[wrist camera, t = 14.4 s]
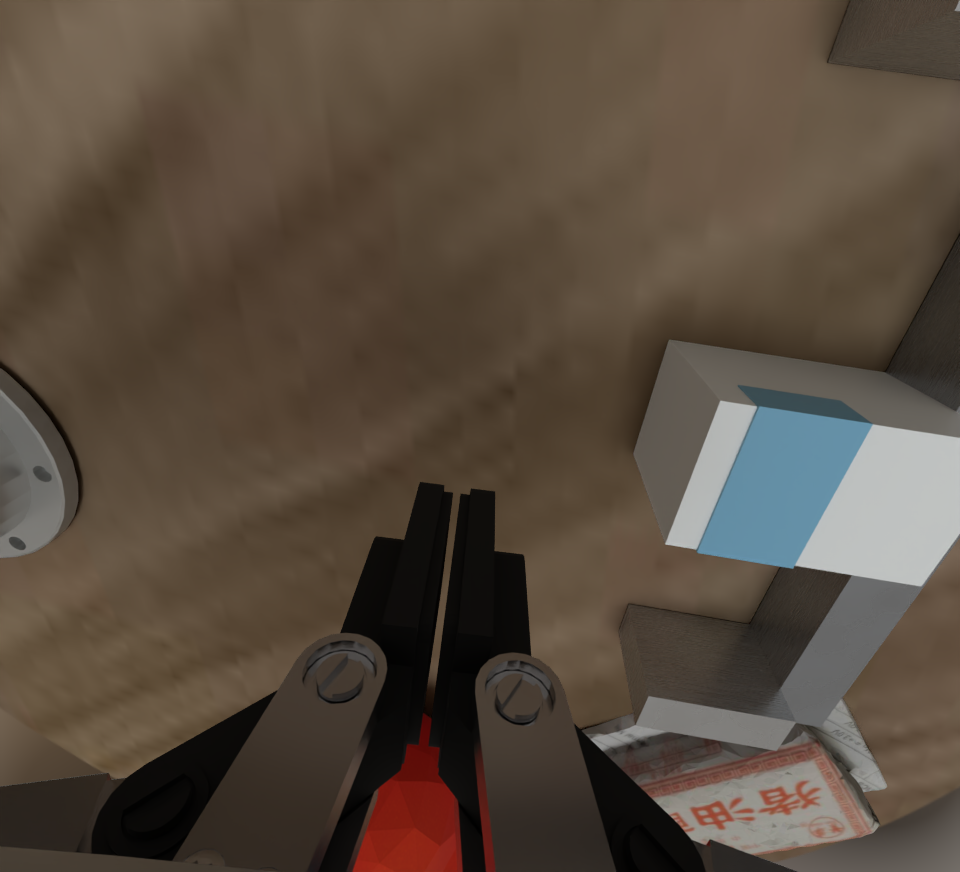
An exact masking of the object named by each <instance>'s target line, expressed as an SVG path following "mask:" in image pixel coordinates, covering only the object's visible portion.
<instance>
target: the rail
mask: <svg viewBox="0 0 960 872" xmlns="http://www.w3.org/2000/svg"><path fill="white" fill-rule="evenodd" d="M828 63H833V64H841V65H848V66H856V67H863V68H871V69H878V70H886V71H894V72H901V73H909V74H916V75H924V76H931V77H939V78H946V79H954V80H960V0H850V3H849V5H848V8H847V11H846V14H845V16H844V19H843V22H842V24H841V27H840V30H839V33H838V35H837V38H836V41H835V44H834V46H833V49H832V52H831V54H830V57H829V60H828ZM885 373H887V374H889V375H891V376H892V377H894V378H896V379H898V380H900V381H902V382H903V383H905V384H907V385H909V386H911V387H912V388H914V389H916V390H918V391H920V392H922V393H923V394H925V395H927V396H929V397H931V398H933V399H934V400H936V401H938V402H940V403H942V404H944V405H945V406H947V407H949V408H951V409H953V410H955V411H956V412H958V413H960V235H959V237H958V239H957V241H956V243H955V244H954V246H953V248H952V250H951V252H950V254H949V256H948V257H947V259H946V261H945V263H944V265H943V267H942V269H941V270H940V272H939V274H938V276H937V278H936V280H935V282H934V283H933V285H932V287H931V289H930V291H929V293H928V295H927V296H926V298H925V300H924V302H923V304H922V306H921V308H920V309H919V311H918V313H917V315H916V317H915V319H914V320H913V322H912V324H911V326H910V328H909V330H908V332H907V333H906V335H905V337H904V339H903V341H902V343H901V345H900V346H899V348H898V350H897V352H896V354H895V356H894V358H893V359H892V361H891V363H890V365H889V367H888V369H887V371H886V372H885ZM959 538H960V534H959V536H958V537H957V538H956V540H955V541H954V543H953V544H952V545H951V547H950V548H949V549H948V551H947V552H946V554H945V555H944V556H943V558H942V559H941V560H940V562H939V563H938V565H937V566H936V567H935V569H934V570H933V571H932V573H931V574H930V575H929V577H928V578H927V580H926V581H925V582H924V584H923V585H922V586H915V585H909V584H903V583H897V582H891V581H884V580H878V579H872V578H866V577H860V576H854V575H848V574H842V573H836V572H830V571H824V570H818V569H812V568H806V567H800V566H794V568H793V569H792V568H786V567H780V569H779V571H778V573H777V575H776V577H775V578H774V580H773V582H772V584H771V586H770V588H769V590H768V591H767V593H766V595H765V597H764V599H763V601H762V603H761V604H760V606H759V608H758V610H757V612H756V614H755V616H754V617H753V619H752V621H751V623H750V625H749V624H743V623H737V622H732V621H726V620H720V619H714V618H708V617H702V616H696V615H690V614H684V613H679V612H673V611H667V610H661V609H655V608H649V607H643V606H637V605H631V604H628V607H627V610H626V613H625V615H624V618H623V621H622V624H621V626H620V629H619V638H620V643H621V649H622V654H623V660H624V665H625V671H626V677H627V682H628V688H629V693H630V699H631V704H632V710H633V715H634V721H635V726H640V727H645V728H651V729H656V730H662V731H668V732H673V733H679V734H685V735H690V736H696V737H701V738H707V739H713V740H718V741H724V742H730V743H735V744H741V745H746V746H752V747H758V748H763V749H769V750H775V751H777V749H778V748H779V747H780V745H781V744H782V742H783V741H784V739H785V738H786V736H787V735H788V733H789V732H790V731H791V729H792V728H793V726H794V725H795V723H799V724H805V725H810V726H816V727H821V726H822V725H823V723H824V722H825V721H826V719H827V718H828V716H829V715H830V714H831V712H832V711H833V710H834V708H835V707H836V706H837V704H838V703H839V701H840V700H841V699H842V697H843V696H844V695H845V693H846V692H847V691H848V689H849V688H850V686H851V685H852V684H853V682H854V681H855V680H856V678H857V677H858V676H859V674H860V673H861V671H862V670H863V669H864V667H865V666H866V665H867V663H868V662H869V661H870V659H871V658H872V657H873V655H874V654H875V652H876V651H877V650H878V648H879V647H880V646H881V644H882V643H883V642H884V640H885V639H886V637H887V636H888V635H889V633H890V632H891V631H892V629H893V628H894V627H895V625H896V624H897V622H898V621H899V620H900V618H901V617H902V616H903V614H904V613H905V612H906V610H907V609H908V607H909V606H910V605H911V603H912V602H913V601H914V599H915V598H916V597H917V595H918V594H919V592H920V591H921V590H922V588H923V587H924V586H925V584H926V583H927V582H928V580H929V579H930V578H931V576H932V575H933V573H934V572H935V571H936V569H937V568H938V567H939V565H940V564H941V563H942V561H943V560H944V558H945V557H946V556H947V554H948V553H949V552H950V550H951V549H952V548H953V546H954V545H955V543H956V542H957V541H958V539H959Z"/></svg>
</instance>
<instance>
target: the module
mask: <svg viewBox="0 0 960 872" xmlns="http://www.w3.org/2000/svg"><path fill="white" fill-rule="evenodd" d="M633 455H634V458H635V460H636V463H637V466H638V469H639V472H640V474H641V477H642V480H643V483H644V486H645V489H646V491H647V494H648V497H649V500H650V503H651V505H652V508H653V511H654V514H655V517H656V520H657V522H658V525H659V528H660V531H661V534H662V537H663V539H664V542H665V544H667V545H673V546H679V547H685V548H691V549H696V551H697V553H702V554H708V555H714V556H720V557H726V558H732V559H738V560H744V561H750V562H756V563H762V564H768V565H774V566H780V567H786V568H792V569H793V568H794V566H800V567H806V568H812V569H818V570H824V571H830V572H836V573H842V574H848V575H854V576H860V577H866V578H872V579H878V580H884V581H891V582H897V583H903V584H909V585H915V586H922V585H923V584H924V582H925V581H926V580H927V578H928V577H929V575H930V574H931V573H932V571H933V570H934V569H935V567H936V566H937V565H938V563H939V562H940V560H941V559H942V558H943V556H944V555H945V554H946V552H947V551H948V549H949V548H950V547H951V545H952V544H953V543H954V541H955V540H956V538H957V537H958V536H959V534H960V413H958V412H956V411H955V410H953V409H951V408H949V407H947V406H945V405H944V404H942V403H940V402H938V401H936V400H934V399H933V398H931V397H929V396H927V395H925V394H923V393H922V392H920V391H918V390H916V389H914V388H912V387H911V386H909V385H907V384H905V383H903V382H902V381H900V380H898V379H896V378H894V377H892V376H891V375H889V374H887V373H885V372H880V371H873V370H867V369H860V368H854V367H847V366H840V365H834V364H827V363H821V362H814V361H808V360H801V359H794V358H788V357H781V356H775V355H768V354H762V353H755V352H748V351H742V350H735V349H729V348H722V347H716V346H709V345H702V344H696V343H689V342H683V341H676V340H669V341H668V344H667V347H666V350H665V353H664V357H663V360H662V363H661V366H660V369H659V373H658V376H657V379H656V382H655V385H654V389H653V392H652V395H651V398H650V401H649V405H648V408H647V411H646V414H645V418H644V421H643V424H642V427H641V430H640V434H639V437H638V440H637V443H636V446H635V450H634V453H633Z"/></svg>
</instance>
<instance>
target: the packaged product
mask: <svg viewBox="0 0 960 872" xmlns="http://www.w3.org/2000/svg"><path fill="white" fill-rule="evenodd" d="M581 731H582V732H583V733H584V734H585V735H586V736H588V737H589V738H590V739H591V740H592V741H593V742H594V743H595V744H596V745H597V746H598V747H599V748H600V749H601V750H602V751H603V752H604V753H605V754H606V755H607V756H608V757H609V758H610V759H611V760H612V761H614V762H615V763H616V764H617V765H618V766H619V767H620V768H621V769H622V770H623V771H624V772H625V773H626V774H627V775H628V776H629V777H630V778H631V779H632V780H633V781H634V782H635V783H636V784H637V785H638V786H640V787H641V788H642V789H643V790H644V791H645V792H646V793H647V794H648V795H649V796H650V797H651V798H652V799H653V800H654V801H655V802H656V803H657V804H658V805H659V806H660V807H661V808H662V809H663V810H664V811H666V812H667V813H668V814H669V815H670V816H671V817H672V818H673V819H674V820H675V821H676V822H677V823H678V824H679V825H680V827H681V828H682V829H683V830H684V831H685V832H686V834H687V835H688V836H689V837H690V838H691V840H694V841H697V842H699V843H702V844H705V845H706V844H707V843H708V841H709V839H711V840H714V841H717V842H719V843H722V844H725V845H727V846H730V847H733V848H735V849H738V850H741V851H744V852H746V853H749V854H752V855H760V854H767V853H772V852H775V851H785V850H790V849H794V848H798V847H809V846H814V845H818V844H822V843H831V842H837V841H842V840H847V839H854V838H859V837H862V836H864V835H867V834H871V833H873V832H874V831H875V830H876V829H877V827H878V826H879V825H880V823H879V821H878V819H877V816H876V815H875V813H874V811H873V809H872V807H871V806H870V804H869V802H868V801H867V799H866V798H865V796H864V793H863V792H867V791H873V790H881V789H885V788H886V787H887V784H886V782H885V780H884V778H883V776H882V774H881V771H880V769H879V767H878V765H877V763H876V761H875V759H874V757H873V756H872V754H871V752H870V751H869V749H868V748H867V746H866V744H865V742H864V739H863V737H862V735H861V733H860V731H859V729H858V727H857V724H856V722H855V720H854V718H853V716H852V715H851V713H850V711H849V709H848V707H847V705H846V703H845V701H844V699H843V697H842V699H841V700H840V701H839V703H838V704H837V706H836V707H835V708H834V710H833V711H832V712H831V714H830V715H829V716H828V718H827V719H826V721H825V722H824V723H823V725H822V726H821V727H816V726H810V725H805V724H799V723H795V725H794V726H793V728H792V729H791V731H790V732H789V733H788V735H787V736H786V738H785V739H784V741H783V742H782V744H781V745H780V747H779V748H778V749H777V751H775V750H769V749H763V748H758V747H752V746H746V745H741V744H735V743H730V742H724V741H718V740H713V739H707V738H701V737H696V736H690V735H685V734H679V733H673V732H668V731H662V730H656V729H651V728H645V727H640V726H635V721H634V715H633V713H632V714H629V715H626V716H624V717H619V718H616V719H614V720H611V721H608V722H605V723H603V724H600V725H597V726H594V727H590V728H587V729H584V730H581Z"/></svg>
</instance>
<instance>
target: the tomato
mask: <svg viewBox="0 0 960 872" xmlns="http://www.w3.org/2000/svg"><path fill="white" fill-rule="evenodd" d="M431 720H432V719H431V718H430V717H429V716H427V715H426V714H424V713H423V719H422V726H421V733H420V740H419V745H412V744H407V749H406V755H405V761H404V764H402V767H401V771H399V772H398V773H397V774H396V775H394V776H393V777H392V778H391V779H389V780H388V781H387V782H386V783H384V784H383V785H382V786H381V787H379V793H378V798H377V801H376V804H375V807H374V810H373V813H372V816H371V819H370V822H369V825H368V827H367V830H366V833H365V836H364V839H363V842H362V845H361V848H360V851H359V854H358V857H357V860H356V863H355V866H354V868H353V871H352V872H458V871H457V854H456V837H455V820H454V798H455V796H454V795H453V793H452V792H451V791H450V790H449V788H448V787H447V786H446V784H445V783H444V782H443V780H442V779H441V778H440V776H439V775H438V770H439V768H437V767H438V758H439V748H438V747H429V746H428V744H429V736H430V728H431Z"/></svg>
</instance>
